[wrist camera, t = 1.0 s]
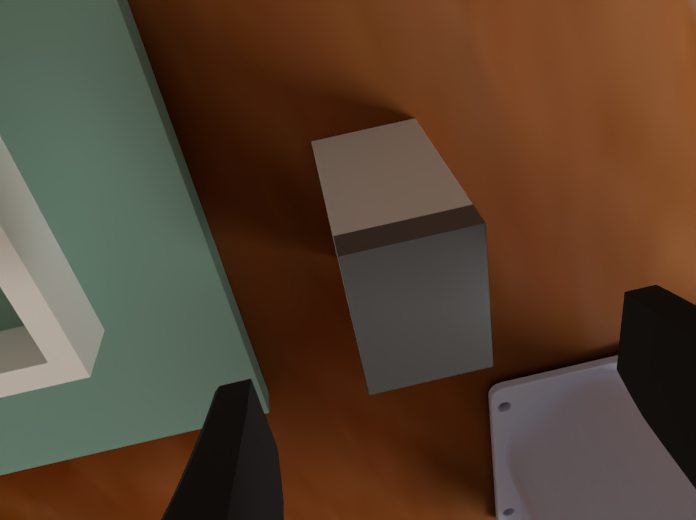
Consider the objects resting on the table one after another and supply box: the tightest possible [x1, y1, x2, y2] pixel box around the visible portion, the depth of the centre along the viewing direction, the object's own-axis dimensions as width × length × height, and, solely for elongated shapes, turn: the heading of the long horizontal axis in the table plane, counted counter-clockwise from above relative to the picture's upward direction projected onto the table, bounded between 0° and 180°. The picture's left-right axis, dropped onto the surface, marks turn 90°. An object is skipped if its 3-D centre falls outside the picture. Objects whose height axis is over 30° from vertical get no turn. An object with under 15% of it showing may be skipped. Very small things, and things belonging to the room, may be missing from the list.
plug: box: [311, 118, 493, 395], centre depth 16 cm, size 4×3×6 cm
